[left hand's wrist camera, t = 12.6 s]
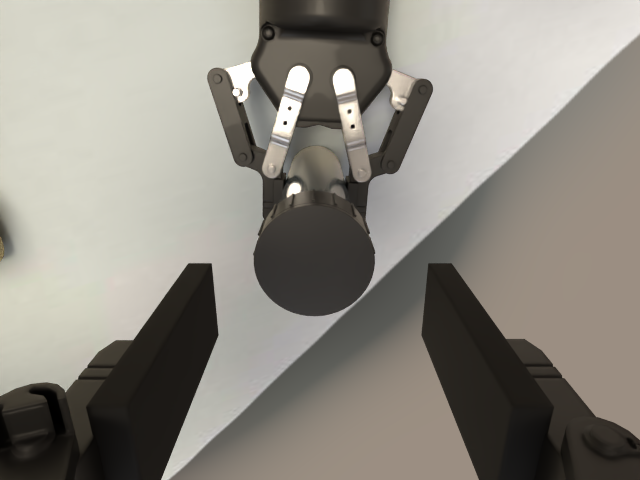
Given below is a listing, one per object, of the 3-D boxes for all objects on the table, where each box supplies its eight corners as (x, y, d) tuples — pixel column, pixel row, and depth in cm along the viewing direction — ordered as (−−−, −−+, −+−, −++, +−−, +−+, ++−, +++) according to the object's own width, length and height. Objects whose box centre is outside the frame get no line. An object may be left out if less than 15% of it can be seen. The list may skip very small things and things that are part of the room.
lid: (305, 310, 21) (304, 338, 19) (236, 233, 20) (225, 253, 17) (390, 251, 20) (400, 273, 18) (324, 165, 18) (325, 177, 16)
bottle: (311, 205, 36) (306, 320, 19) (279, 166, 35) (243, 251, 18) (351, 175, 35) (384, 267, 18) (320, 134, 34) (323, 190, 17)
